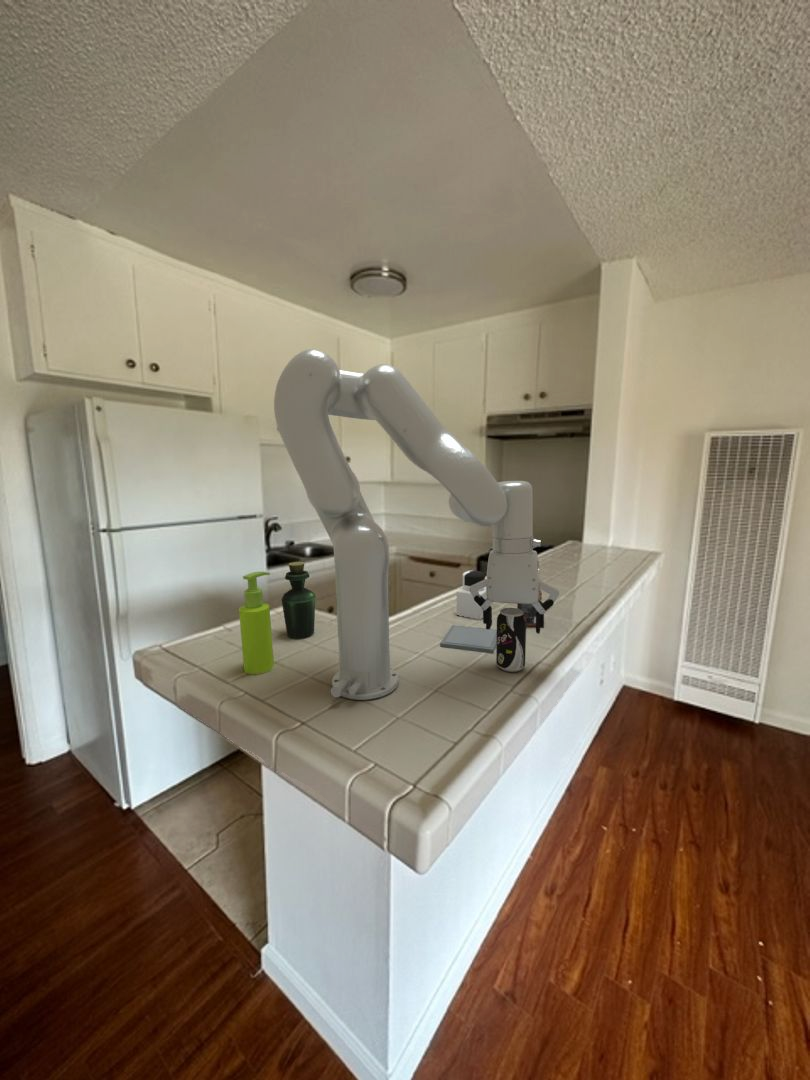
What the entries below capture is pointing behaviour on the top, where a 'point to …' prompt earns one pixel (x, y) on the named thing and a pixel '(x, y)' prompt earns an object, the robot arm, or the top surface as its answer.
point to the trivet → (470, 639)
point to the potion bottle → (298, 604)
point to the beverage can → (511, 640)
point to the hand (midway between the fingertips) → (513, 629)
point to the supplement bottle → (529, 612)
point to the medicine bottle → (464, 597)
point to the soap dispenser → (256, 629)
